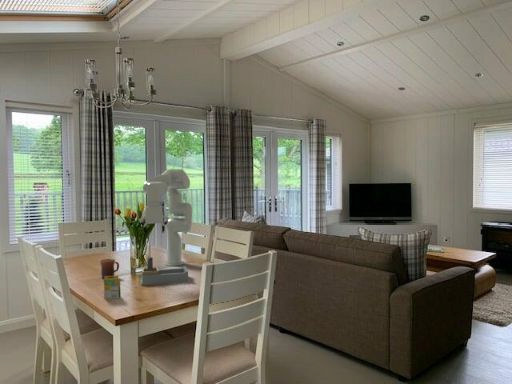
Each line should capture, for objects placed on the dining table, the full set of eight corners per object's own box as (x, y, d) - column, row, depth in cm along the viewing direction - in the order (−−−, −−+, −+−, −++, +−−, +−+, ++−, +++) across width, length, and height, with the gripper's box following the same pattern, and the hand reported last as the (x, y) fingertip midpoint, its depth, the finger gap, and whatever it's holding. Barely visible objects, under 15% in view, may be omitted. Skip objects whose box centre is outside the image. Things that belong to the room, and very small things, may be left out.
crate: (142, 277, 232) (141, 256, 232) (158, 276, 235) (157, 255, 234) (142, 281, 224) (141, 259, 223) (158, 280, 226) (158, 258, 226)
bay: (141, 279, 234) (141, 269, 234) (185, 276, 242) (185, 266, 241) (141, 285, 222) (141, 274, 222) (188, 281, 229) (188, 271, 229)
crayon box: (120, 296, 202) (120, 274, 201) (118, 298, 199) (118, 275, 198) (106, 297, 202) (105, 274, 201) (104, 298, 199) (103, 276, 198)
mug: (97, 278, 237) (96, 261, 236) (106, 274, 245) (105, 258, 245) (114, 279, 234) (114, 262, 233) (123, 276, 242) (122, 259, 241)
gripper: (168, 202, 237) (169, 231, 238) (138, 203, 232) (139, 232, 234) (169, 204, 230) (169, 233, 231) (138, 205, 225) (138, 235, 226)
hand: (154, 233), depth 232 cm, fingers open, 9 cm apart
